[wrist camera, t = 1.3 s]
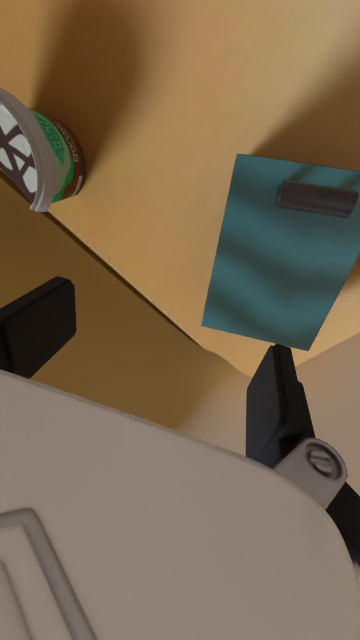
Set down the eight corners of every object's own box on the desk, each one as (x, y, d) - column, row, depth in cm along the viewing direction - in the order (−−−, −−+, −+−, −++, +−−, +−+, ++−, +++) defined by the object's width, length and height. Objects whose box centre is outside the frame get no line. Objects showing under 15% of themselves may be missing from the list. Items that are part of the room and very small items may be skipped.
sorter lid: (237, 154, 21) (234, 149, 17) (395, 176, 20) (439, 178, 15) (201, 322, 31) (193, 348, 26) (307, 347, 29) (317, 379, 24)
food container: (113, 173, 32) (65, 174, 24) (84, 204, 35) (33, 214, 27) (41, 74, 29) (-44, 34, 20) (16, 117, 31) (-68, 97, 23)
